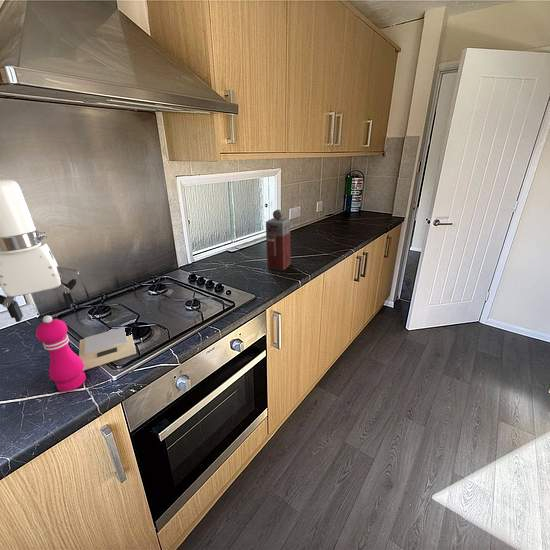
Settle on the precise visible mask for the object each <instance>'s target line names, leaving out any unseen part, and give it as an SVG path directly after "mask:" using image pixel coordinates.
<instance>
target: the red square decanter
mask: <svg viewBox="0 0 550 550" xmlns="http://www.w3.org/2000/svg"><path fill="white" fill-rule="evenodd" d="M272 217H273V218H270V219H268V220H267V221H265V235H266V236H265V239H266V240H265V241H266V260H267V261H266V263H267V269H272V270H279V271H285V270H286V269H287V268H288V267H290V265H292V264H291V263H292V262H291V219H290V218H287V217H284V213H283V211H282V210H281V209H276V210H274V211H273V212H272ZM283 217H284V218H283Z"/></svg>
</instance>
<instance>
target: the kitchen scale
mask: <svg viewBox="0 0 550 550" xmlns="http://www.w3.org/2000/svg"><path fill="white" fill-rule="evenodd" d="M125 327H126V326H123V327H119V328H115V329H112V330H108V331H104V332H100V333H97V334H94V335H90V336H86V337H84V338H83V339H80V340H79V346H78V347H79V350H78V356H79V357H80V358H81V359H82V361H83V363H84V368H83V371H84V372H85V371H86V370H89V369H94V368H96V367H99V366H102V365H106V364H109V363H111V362H115V361H118V360H121V359H123V358H128V357H130V356H133V355H136V354H137V350H136V346H135V341H134V337H133V333H132V334H131V335H129V336H126V332H125Z"/></svg>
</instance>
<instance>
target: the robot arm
mask: <svg viewBox="0 0 550 550" xmlns="http://www.w3.org/2000/svg"><path fill="white" fill-rule="evenodd" d="M35 226H36V225H35V223H34V221H33V217H32V216H31V213H30V210H29V207H28V205H27V202H26V200H25V197H24V194H23V192H22V189H21V187H20V184H19V183H18V182H17V181H15V180H14V179H10V178H9V179H8V178H0V287H1V290H2V292H3V293H4V295H3V294H0V305H1V306H2V307H4V308H6V309H7V312H8V314H9V316H10V318H11V319H14V320H15V322H16V323H20V322H21V321H22V320H23V317H24V315H23V311H22V310H21V307H20V305H19V303H18V301H16V300H15V297H22V296H27V295H31V294H36V293H40V292H45V291H49V290H54V289H57V290H59V291H61V292H63V293H62V297H63V299H64V303H65V305H66V308H67V309H68V310H72V309H73V304H75V298H74V296H73V293H72V290H73V289H74V288H75V286H76V285H77V282H78V279H79V275H80V271H79V270H78V269H73V268H68V267H63V266H59V264H58V263H57V260H56V259H55V256H54V255H53V252H52V251H51V249H50V247H49V245H48V244H47V243H46V242H43V240H44V239H48V235H47V233H46V231H43V232H42V231H41V232H40V231H39V230H38V229H37V228H36V227H35ZM63 275H65V276H70V279H69V281H68V282H66V281H64V280H63Z"/></svg>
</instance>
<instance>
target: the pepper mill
mask: <svg viewBox="0 0 550 550" xmlns="http://www.w3.org/2000/svg"><path fill="white" fill-rule="evenodd" d="M68 331H69V329H68V326H67V324H66V323H65V321H63V320H61V319H58V318H53V317H52V316H51V315H48V314H47V315H44V316H43V317H42V322H41V323H40V324H39V325H38V326H37V327H36V330H35V336H36V338H37V340H38V341H39V342H41V343H42V345H43V349H44V350H46V351H48V354H49V359H50V360H49V361H50V362H49V366H48V375H49V378H50V379H51V381H53V382H55V385H56V388H57V390H58V392H62V393H63V392H64V393H66V392H67V393H68V392H71V391H74V390H75V389H78V388H79V387H81V386H82V385H84V383H85V382H86V380H87V377H86V372H85V370H84V371H83V368H84V363H83V361H82V359H81V358H80V357H79V354H78V355H77V353H75V352H74V351H73V349H71V348H70V345H69V342H70V338H69V336H68V334H67V333H68Z"/></svg>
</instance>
